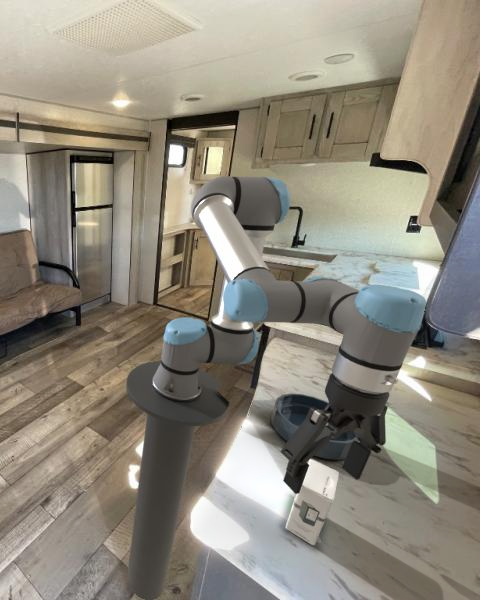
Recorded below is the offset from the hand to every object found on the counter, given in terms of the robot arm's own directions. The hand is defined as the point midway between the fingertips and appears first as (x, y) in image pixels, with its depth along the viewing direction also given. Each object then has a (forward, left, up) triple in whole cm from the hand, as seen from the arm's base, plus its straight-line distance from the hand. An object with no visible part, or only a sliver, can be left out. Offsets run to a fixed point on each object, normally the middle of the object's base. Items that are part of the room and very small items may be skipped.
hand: (321, 480), depth 59 cm
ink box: (0, 0, -12) cm, 12 cm away
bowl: (-19, +22, -11) cm, 31 cm away
